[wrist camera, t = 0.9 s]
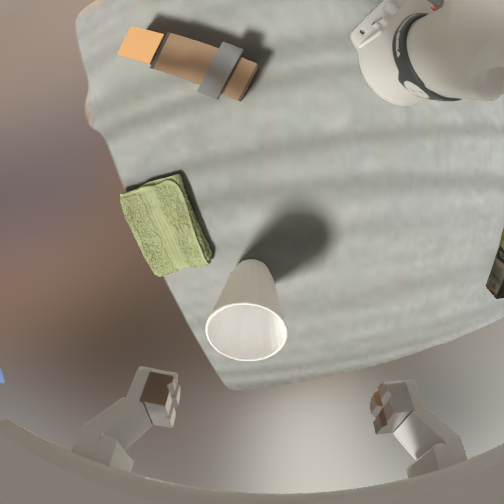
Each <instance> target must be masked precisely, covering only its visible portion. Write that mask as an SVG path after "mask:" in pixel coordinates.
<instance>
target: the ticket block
mask: <svg viewBox="0 0 504 504" xmlns="http://www.w3.org/2000/svg"><path fill="white" fill-rule="evenodd" d="M243 51H244V50H243V49H242V48H239V47H236V46H234V45H231V44H229V43H226V42H222V44H221V46H220V47H219V48H217V47H214V46H211V45H208V44H205V43H202V42H199V41H196V40H193V39H190V38H187V37H183V36H180V35H177V34H173V33H171V32H167V34H166V36H165V38H164V40H163V42H162V43H161V45H160V47H159V50H158V52H157V54H156V56H155V58H154V60H153V62H152V64H151V66H150V68H152V69H156V70H160V71H163V72H166V73H169V74H172V75H175V76H177V77H180V78H183V79H186V80H189V81H191V82H194V83H197V84H199V85H200V86H199V88H198V90H197V92H200V93H202V94H205V95H207V96H210V97H212V98H215V99H219V97H220V95H221V93H222V94H224V95H227V96H229V97H231V98H234V99H236V100H238V101H241V100H242V98H243V96H244V94H245V92H246V90H247V89H248V87H249V85H250V83H251V81H252V79H253V77H254V75H255V74H256V72H257V70H258V65H257V63H255V62H252V61H250V60H247V59H245V58H243V57H241V55H242V53H243Z"/></svg>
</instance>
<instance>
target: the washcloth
mask: <svg viewBox="0 0 504 504" xmlns="http://www.w3.org/2000/svg"><path fill="white" fill-rule="evenodd" d="M120 197H121V199H120V202H121V206H122V208H123V212H124V214H125V215H124V216H125V219H126V221H127V222H128V223H129V226H130V228H131V229H132V232H133V235H134V237H135V238H136V240H137V243H138V245H139V247H140V249H141V250H142V253H143V256H144V257H145V260H146V261H147V262H148V264H149V265H150V267H151V270H152V271H153V272H154V273H155V275H157V276H163V275H167V274H169V273H172V272H177V271H178V270H179V269H183V268H186V267H191V268H192V267H194V268H195V267H202V266H205V265H208V264H210V263H211V255H212V250H211V249H210V246H209V245H210V244H209V243H208V242H207V241H206V238H205V236H204V234H203V232H202V230H201V227H200V225H199V222H198V221H197V219H196V216H195V214H194V210H193V209H192V208H193V207H192V205H191V204H190V202H189V200H188V197H187V194H186V190H185V189H184V184H183V181H182V176H181V175H180V174H176V175H173V176H169V177H166V178H162V179H157V180H153V181H150V182H147V183H145V184H144V185H142V186H141V187H139V188H137V189H134V190H131V191H128V192H125V193H122V194H120Z"/></svg>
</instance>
